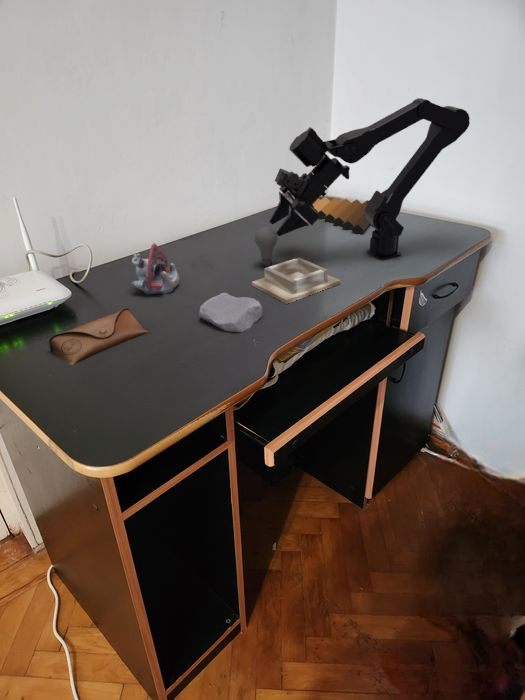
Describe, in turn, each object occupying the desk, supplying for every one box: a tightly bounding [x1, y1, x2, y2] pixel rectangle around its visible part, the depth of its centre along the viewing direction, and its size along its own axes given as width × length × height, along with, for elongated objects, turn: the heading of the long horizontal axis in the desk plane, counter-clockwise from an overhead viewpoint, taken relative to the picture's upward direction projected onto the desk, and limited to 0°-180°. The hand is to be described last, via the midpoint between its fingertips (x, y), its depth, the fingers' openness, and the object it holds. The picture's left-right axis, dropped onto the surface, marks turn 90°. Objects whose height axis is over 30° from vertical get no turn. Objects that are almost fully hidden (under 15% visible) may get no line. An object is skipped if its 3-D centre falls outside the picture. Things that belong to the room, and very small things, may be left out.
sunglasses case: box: [48, 307, 150, 366], centre depth 105 cm, size 18×7×7 cm
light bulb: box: [254, 226, 278, 267], centre depth 133 cm, size 6×6×10 cm
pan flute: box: [313, 196, 371, 236], centre depth 166 cm, size 25×3×25 cm
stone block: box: [198, 292, 263, 333], centre depth 111 cm, size 12×5×10 cm
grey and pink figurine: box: [130, 243, 181, 295], centre depth 125 cm, size 11×11×12 cm
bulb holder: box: [251, 257, 341, 305], centre depth 124 cm, size 16×13×4 cm
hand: (274, 228), depth 131 cm, fingers open, 9 cm apart
